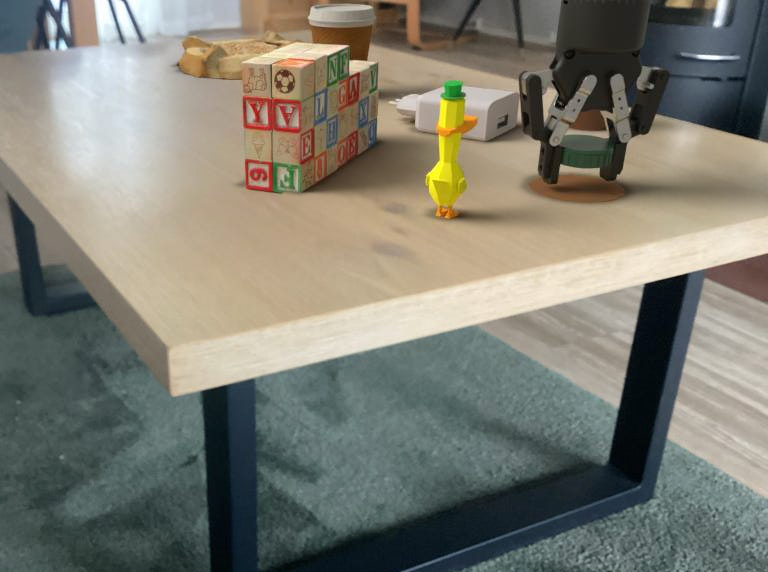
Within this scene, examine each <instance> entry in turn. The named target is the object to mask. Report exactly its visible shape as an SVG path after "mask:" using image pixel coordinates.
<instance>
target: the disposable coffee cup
mask: <svg viewBox="0 0 768 572" xmlns="http://www.w3.org/2000/svg"><path fill="white" fill-rule="evenodd" d="M376 19H377V15H375V10H374V6H373V5H368V4H362V3H361V4H357V3H325V4H316V5H313V6H311V7H310V11H309V15H308V16H307V20H308V22H309V25H310V28H311V29H310V30H311V39H312V44H329V45H348V46H350V56H349V60H359V61H368V59H369V58H368V57H369V51H370V45H371V39H372V32H373V25H375V20H376Z"/></svg>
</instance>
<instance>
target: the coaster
mask: <svg viewBox="0 0 768 572" xmlns="http://www.w3.org/2000/svg"><path fill="white" fill-rule="evenodd" d="M528 187H529V189H530V190H531V191H532V192H533V193H535V194H537V195H540V196H542V197H546V198H549V199H553V200H558V201H565V202H571V203H587V204H588V203H590V204H591V203H605V202H611V201H615V200H619V199H620V198H622V197H624V195H625V192H626V191H625V189H624V188H623V187H622V186H621V185H620V184H618V183H615V182H614V181H606V180H605V179H603V178H601V177H595V176H590V175H589V176H588V175H581V174H559V177H558V182H557V184H550V185H549V184H547V183H546V182H544V181H543V180H542V177H541V176H540V177H536V178H534V179H531V180H530V181H529V182H528Z"/></svg>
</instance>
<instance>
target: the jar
mask: <svg viewBox="0 0 768 572" xmlns="http://www.w3.org/2000/svg"><path fill="white" fill-rule="evenodd" d="M568 129H572V130H577V131H586V132H589V131H590V132H598V131H605V130H607V129H606V124H605V120H604V117H603V115H602V114H601V112H600V110H596V109H593V110H589V111H586V112H580V113H579V114H578V116H577V118H576V120H575V122H574V123H573V124H571V125H570V126H569V128H568Z"/></svg>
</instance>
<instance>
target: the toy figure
mask: <svg viewBox="0 0 768 572" xmlns="http://www.w3.org/2000/svg"><path fill="white" fill-rule="evenodd" d="M463 83H464V82H463V81H462V80H447V81H444V82H443V87H444V88H445V92H444V93H442V94H441V95H440V97H441V98H442V99H441V103H440V116H439V120H438V123H437V127H436V131H437V133H438V134H437V135H438V149H439V150H438V151H439V161H437V163H436V164H435V166H434V167H433V169H431V171H428V173H427V174H425V185H426V186H427V187H428V194H429V195H430V197H431V198H432V200H433V202H434V203H435V204H436V205H437V212H436V214H435V217H442V216H444V218H445V219H452V218H455V217H457V216H459V215H460V212H459V211H458V210H453V205H455V203H456V202H457V201H458V199H459V198H460V196H461V195H462V194H464V193H465V192H466V190H467V189H468V184H467V180H466V179H465V178H464V177H465V172H464V170H463V169H462V167H461V166H460V164H459V162H458V155H459V151H460V146H461V142H462V138H461V137H462V134H465V133H467V132H469V131H470V130H472V129H473V128H474V127H475V126H476V124H477V121H478V117H476V116H469V115H464V112H465V101H466V99H465V98H464V97H466V94H465V93H464V92H461V90H462V86H463ZM444 207H447V208H444Z"/></svg>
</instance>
